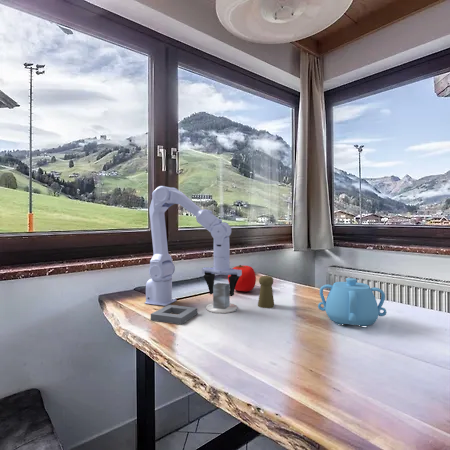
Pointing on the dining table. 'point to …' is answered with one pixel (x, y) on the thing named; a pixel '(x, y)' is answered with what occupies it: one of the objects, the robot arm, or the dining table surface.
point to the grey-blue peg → (221, 295)
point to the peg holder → (166, 315)
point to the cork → (266, 292)
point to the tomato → (245, 278)
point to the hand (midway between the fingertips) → (221, 294)
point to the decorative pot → (352, 303)
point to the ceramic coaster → (217, 310)
